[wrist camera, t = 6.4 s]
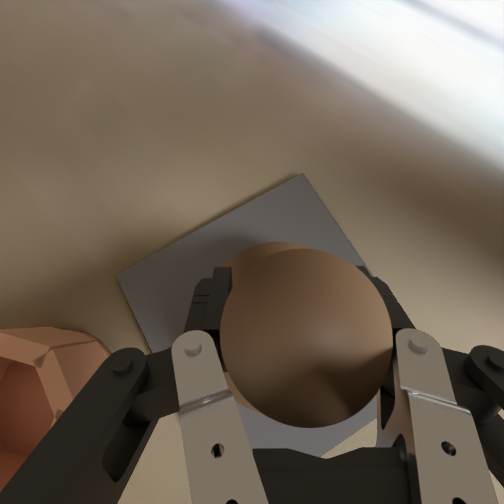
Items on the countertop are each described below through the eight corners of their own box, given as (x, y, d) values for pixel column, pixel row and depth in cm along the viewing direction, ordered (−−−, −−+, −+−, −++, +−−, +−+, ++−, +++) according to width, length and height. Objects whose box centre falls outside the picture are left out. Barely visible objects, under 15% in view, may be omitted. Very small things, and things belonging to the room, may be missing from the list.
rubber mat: (301, 176, 21) (302, 172, 20) (433, 371, 18) (439, 373, 17) (119, 275, 19) (114, 274, 18) (232, 510, 16) (231, 518, 15)
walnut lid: (303, 220, 17) (345, 142, 9) (389, 351, 15) (530, 392, 8) (174, 294, 16) (100, 277, 8) (251, 443, 14) (250, 596, 7)
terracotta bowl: (91, 307, 19) (34, 304, 14) (141, 420, 17) (98, 462, 12) (-26, 371, 18) (-131, 393, 13) (17, 497, 16) (-83, 576, 11)
